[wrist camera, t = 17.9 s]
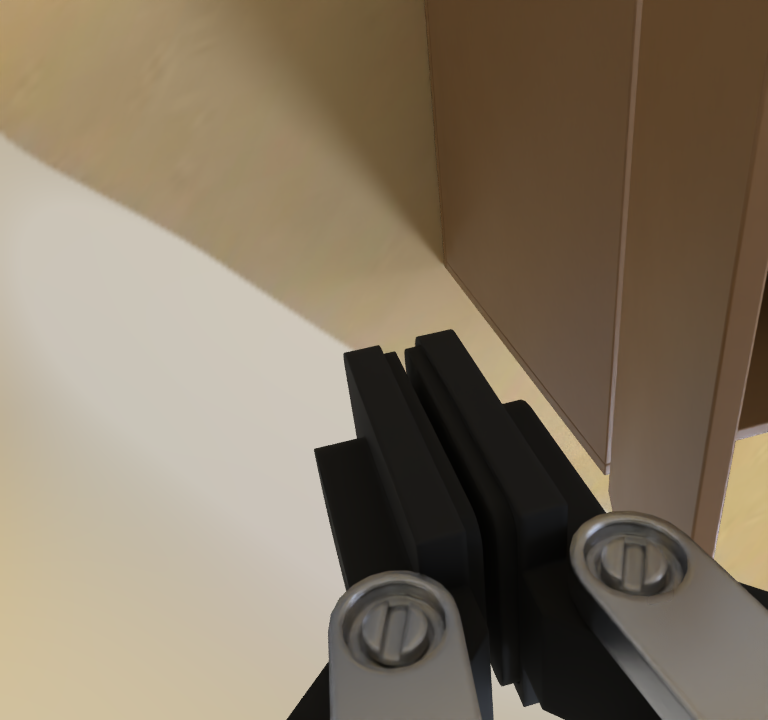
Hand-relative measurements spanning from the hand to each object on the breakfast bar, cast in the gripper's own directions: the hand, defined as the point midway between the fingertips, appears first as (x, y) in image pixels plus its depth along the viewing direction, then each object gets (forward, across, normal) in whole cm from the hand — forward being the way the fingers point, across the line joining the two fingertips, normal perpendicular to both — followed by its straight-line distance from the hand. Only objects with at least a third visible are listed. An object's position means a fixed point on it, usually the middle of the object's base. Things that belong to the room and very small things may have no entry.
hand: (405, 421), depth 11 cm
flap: (+1, -5, 0) cm, 5 cm away
